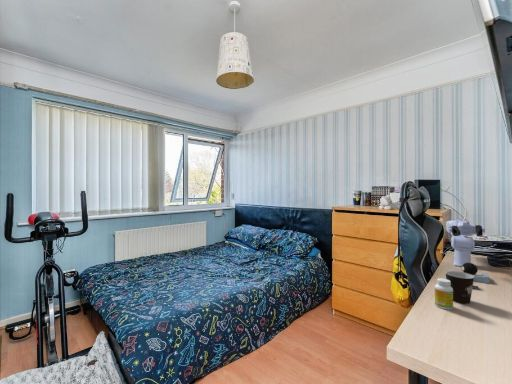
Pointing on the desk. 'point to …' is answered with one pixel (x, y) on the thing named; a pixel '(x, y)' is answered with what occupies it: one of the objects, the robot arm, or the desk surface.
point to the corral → (480, 277)
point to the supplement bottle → (443, 294)
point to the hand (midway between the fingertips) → (469, 233)
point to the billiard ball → (469, 268)
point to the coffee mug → (460, 286)
